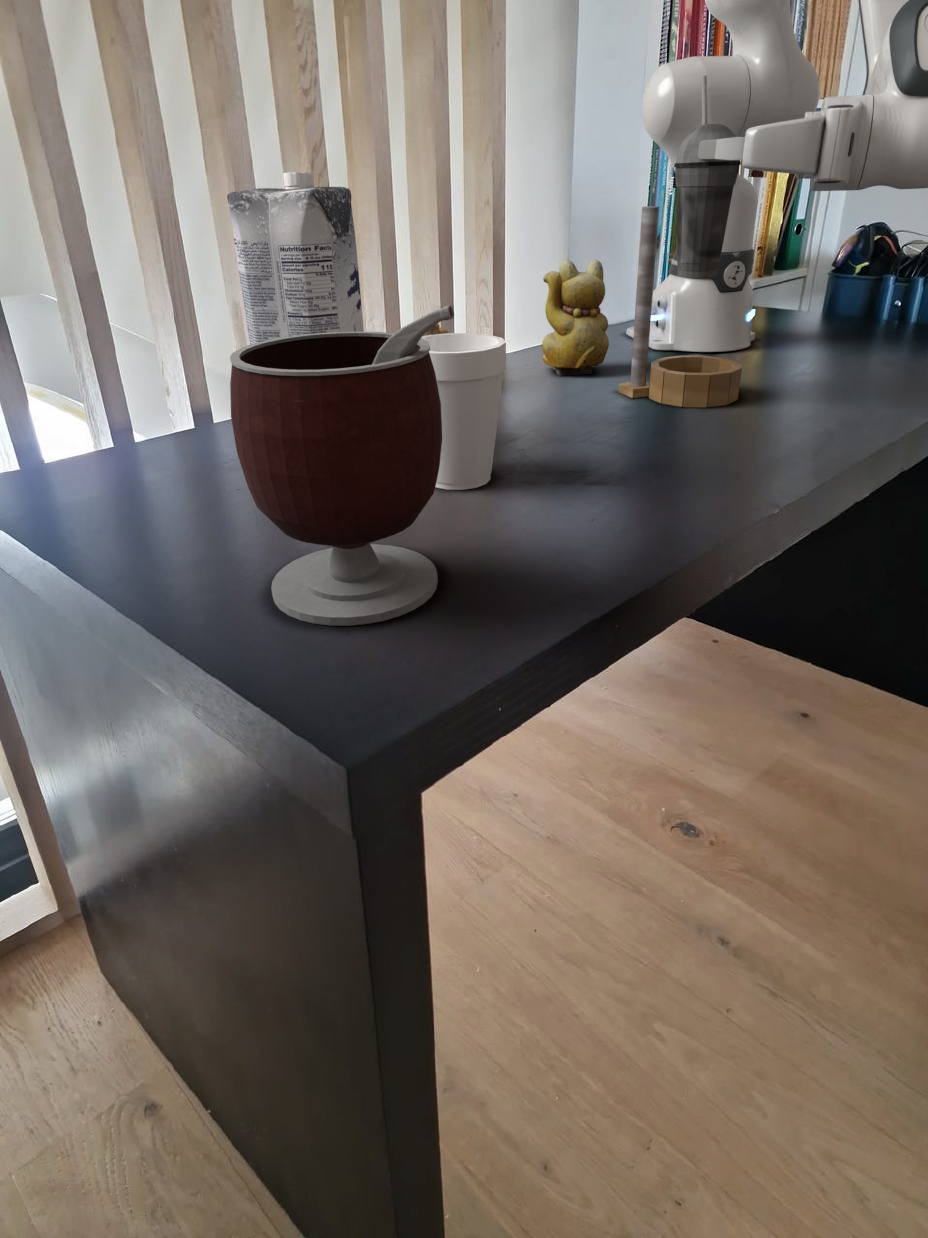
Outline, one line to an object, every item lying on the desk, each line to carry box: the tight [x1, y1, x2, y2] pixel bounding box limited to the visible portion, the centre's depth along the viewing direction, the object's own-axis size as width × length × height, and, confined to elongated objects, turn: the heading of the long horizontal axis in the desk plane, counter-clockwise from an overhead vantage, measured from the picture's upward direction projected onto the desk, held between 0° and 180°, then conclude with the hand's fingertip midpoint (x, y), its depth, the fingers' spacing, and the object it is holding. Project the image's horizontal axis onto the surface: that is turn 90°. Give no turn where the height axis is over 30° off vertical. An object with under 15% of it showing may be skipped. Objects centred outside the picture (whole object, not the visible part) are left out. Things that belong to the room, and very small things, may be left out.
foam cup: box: [421, 332, 507, 491], centre depth 79 cm, size 10×9×13 cm
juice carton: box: [226, 171, 365, 345], centre depth 84 cm, size 9×10×27 cm
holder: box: [618, 205, 743, 409], centre depth 101 cm, size 12×13×22 cm
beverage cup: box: [674, 75, 742, 278], centre depth 94 cm, size 7×7×20 cm
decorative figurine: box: [541, 259, 610, 377], centre depth 117 cm, size 10×8×15 cm
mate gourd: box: [229, 304, 455, 627], centre depth 57 cm, size 16×14×20 cm
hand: (700, 149), depth 92 cm, fingers closed on beverage cup, 7 cm apart
